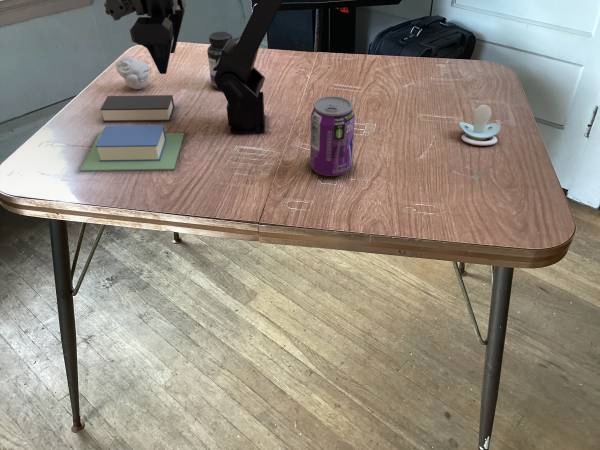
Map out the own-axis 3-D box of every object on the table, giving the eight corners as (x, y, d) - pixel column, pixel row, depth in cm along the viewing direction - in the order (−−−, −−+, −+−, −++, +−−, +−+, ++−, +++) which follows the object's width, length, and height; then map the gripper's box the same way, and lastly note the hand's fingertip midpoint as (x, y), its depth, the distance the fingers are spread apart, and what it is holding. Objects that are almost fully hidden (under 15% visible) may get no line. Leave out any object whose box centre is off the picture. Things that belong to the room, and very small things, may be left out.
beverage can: (348, 181, 91) (352, 117, 83) (306, 177, 92) (307, 113, 84) (353, 159, 96) (358, 96, 88) (314, 154, 97) (315, 92, 89)
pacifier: (500, 149, 99) (495, 131, 103) (509, 118, 94) (503, 101, 99) (459, 146, 99) (456, 129, 104) (466, 116, 95) (462, 99, 100)
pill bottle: (241, 79, 121) (238, 30, 114) (236, 91, 116) (232, 41, 109) (214, 78, 121) (209, 29, 114) (208, 90, 117) (202, 40, 110)
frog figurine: (121, 83, 120) (114, 52, 115) (154, 80, 121) (148, 50, 116) (120, 95, 115) (112, 64, 111) (153, 92, 116) (147, 61, 112)
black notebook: (174, 107, 111) (172, 95, 109) (170, 121, 107) (167, 108, 105) (110, 108, 111) (107, 95, 109) (103, 122, 106) (100, 109, 105)
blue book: (166, 140, 101) (163, 124, 98) (160, 160, 95) (156, 145, 93) (109, 140, 100) (105, 125, 98) (99, 161, 95) (95, 145, 93)
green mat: (184, 134, 103) (183, 133, 102) (174, 170, 93) (173, 168, 93) (99, 135, 102) (98, 134, 102) (80, 171, 93) (80, 169, 93)
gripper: (116, -44, 96) (134, 43, 106) (86, -11, 82) (110, 86, 92) (180, -44, 96) (191, 43, 106) (161, -12, 82) (176, 85, 92)
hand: (167, 62), depth 99 cm, fingers open, 9 cm apart
